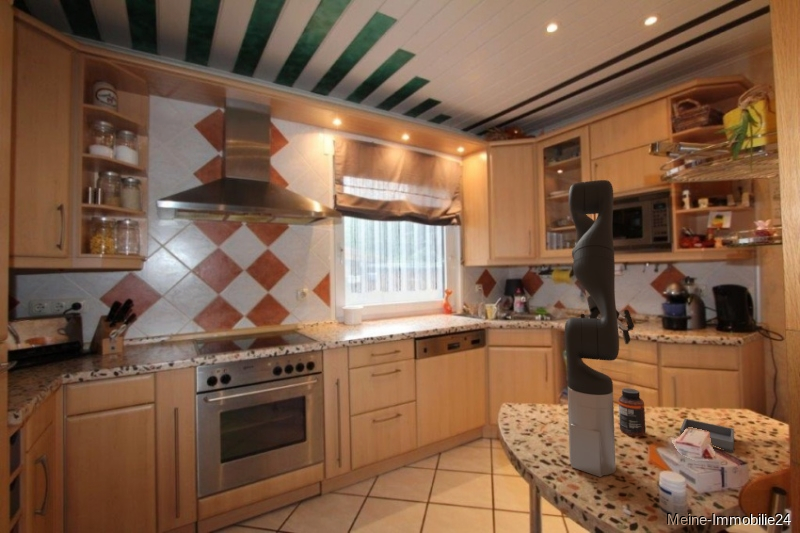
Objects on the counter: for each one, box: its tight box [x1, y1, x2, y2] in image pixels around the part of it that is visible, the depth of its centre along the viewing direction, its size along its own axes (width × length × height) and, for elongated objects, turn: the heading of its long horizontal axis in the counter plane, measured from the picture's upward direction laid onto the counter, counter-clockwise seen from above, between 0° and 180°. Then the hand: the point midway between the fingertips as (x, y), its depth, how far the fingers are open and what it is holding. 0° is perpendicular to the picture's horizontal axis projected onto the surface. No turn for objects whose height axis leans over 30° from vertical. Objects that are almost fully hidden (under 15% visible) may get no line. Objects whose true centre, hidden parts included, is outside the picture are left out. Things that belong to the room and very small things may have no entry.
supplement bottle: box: [618, 388, 647, 437], centre depth 96 cm, size 6×6×11 cm
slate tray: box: [679, 418, 735, 453], centre depth 92 cm, size 10×10×2 cm
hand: (611, 344), depth 109 cm, fingers open, 8 cm apart
